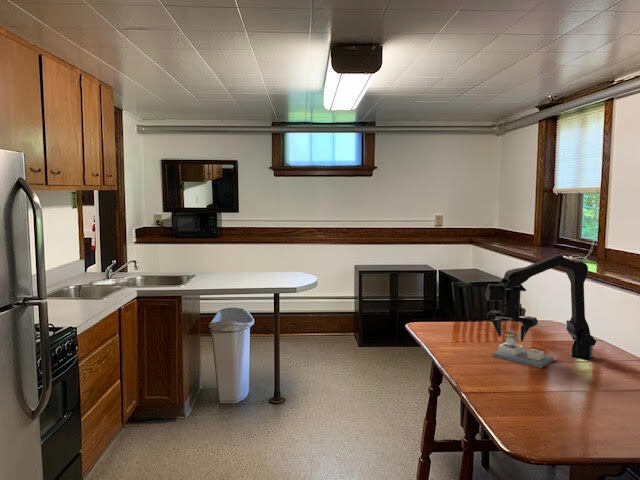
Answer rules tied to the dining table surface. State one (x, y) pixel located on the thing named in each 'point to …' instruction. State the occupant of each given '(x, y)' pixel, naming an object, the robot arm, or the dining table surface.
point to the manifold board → (523, 355)
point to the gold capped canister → (511, 339)
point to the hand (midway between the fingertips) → (510, 338)
